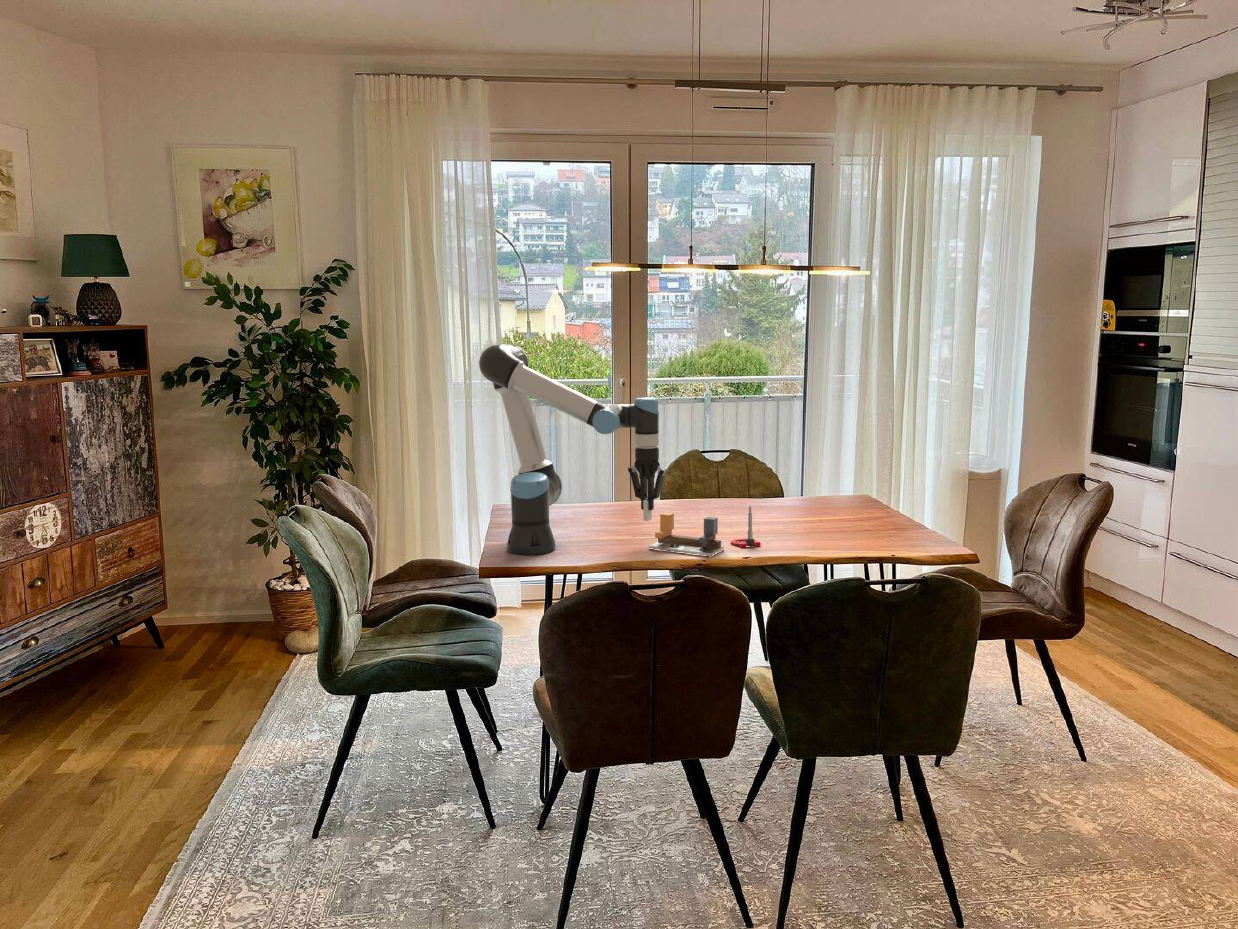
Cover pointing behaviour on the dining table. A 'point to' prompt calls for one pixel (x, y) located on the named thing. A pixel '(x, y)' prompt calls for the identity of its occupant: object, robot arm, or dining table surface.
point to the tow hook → (750, 540)
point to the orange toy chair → (665, 526)
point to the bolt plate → (687, 545)
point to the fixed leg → (709, 531)
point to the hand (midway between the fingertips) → (647, 519)
